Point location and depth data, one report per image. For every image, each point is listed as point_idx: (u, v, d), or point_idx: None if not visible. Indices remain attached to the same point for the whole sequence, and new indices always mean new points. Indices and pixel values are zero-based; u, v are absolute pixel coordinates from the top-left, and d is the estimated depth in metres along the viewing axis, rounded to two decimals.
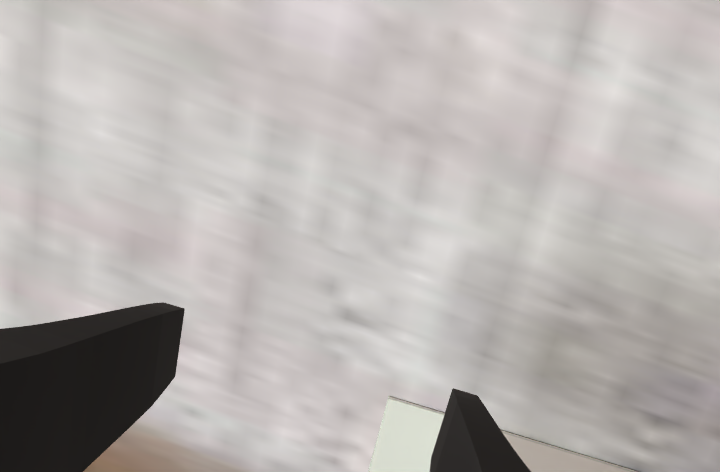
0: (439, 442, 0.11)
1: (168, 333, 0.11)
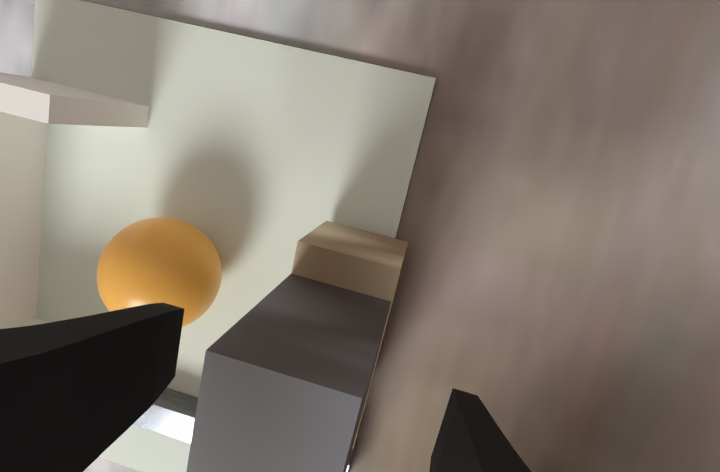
0: (439, 442, 0.11)
1: (168, 333, 0.11)
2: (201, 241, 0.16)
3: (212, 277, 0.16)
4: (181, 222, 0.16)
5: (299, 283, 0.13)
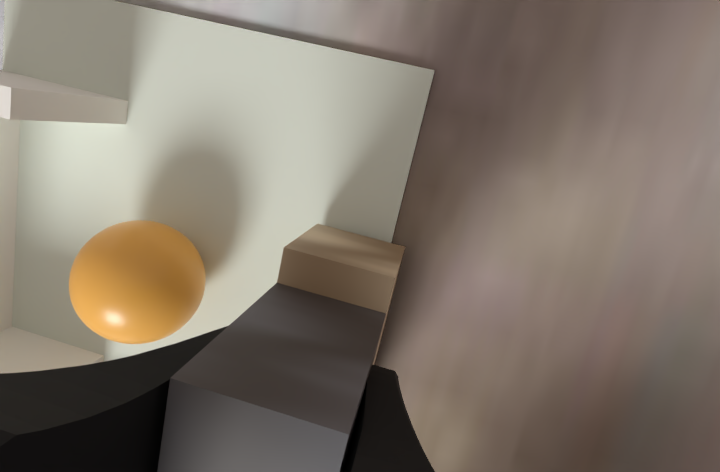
0: None
1: None
2: (182, 246, 0.14)
3: (194, 285, 0.14)
4: (161, 226, 0.15)
5: (285, 294, 0.12)
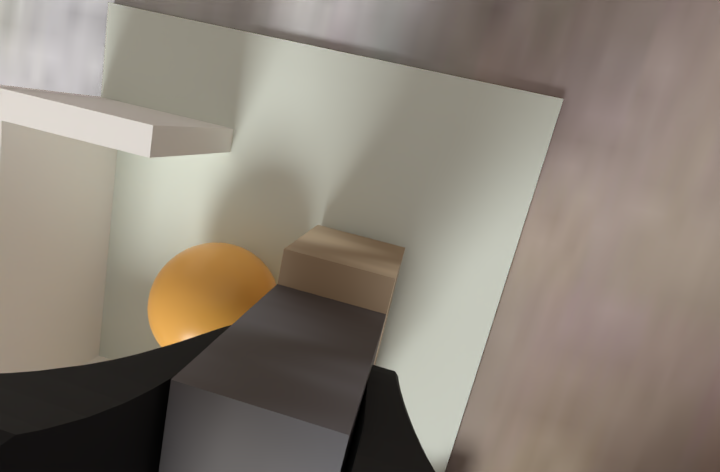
0: None
1: None
2: (245, 274, 0.14)
3: None
4: (236, 250, 0.14)
5: (285, 296, 0.12)
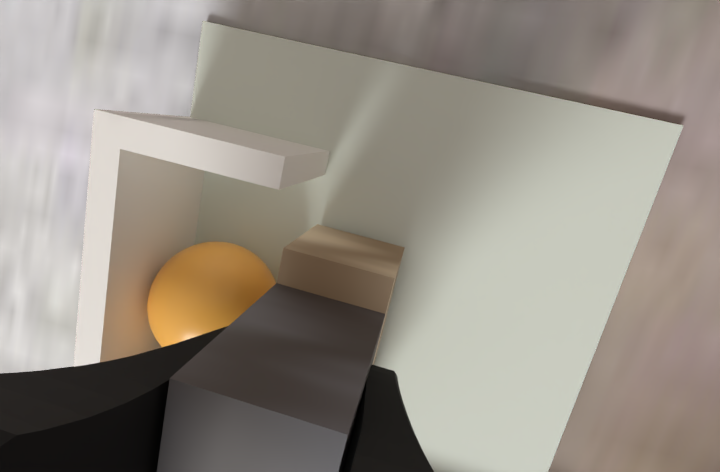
0: None
1: None
2: (182, 259, 0.13)
3: (152, 291, 0.13)
4: (216, 248, 0.14)
5: (285, 294, 0.12)
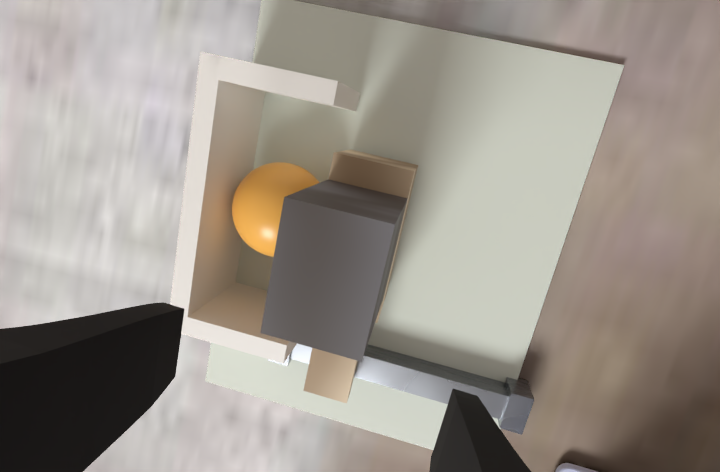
0: (439, 442, 0.11)
1: (168, 333, 0.11)
2: (262, 172, 0.18)
3: (241, 196, 0.18)
4: (285, 164, 0.18)
5: (336, 183, 0.16)
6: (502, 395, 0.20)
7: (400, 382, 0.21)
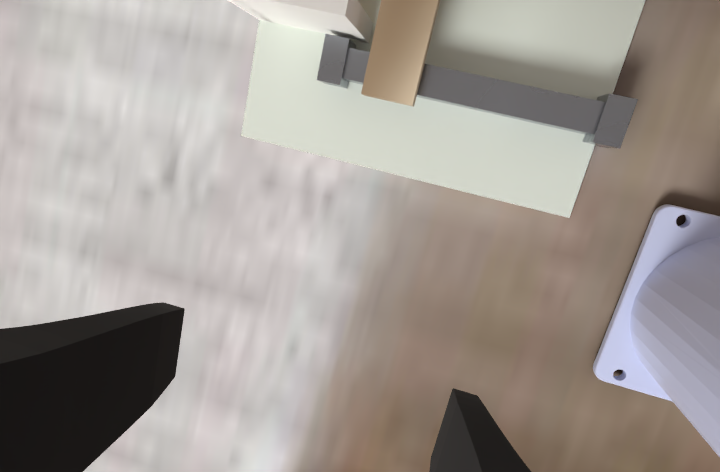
0: (439, 442, 0.11)
1: (168, 333, 0.11)
2: None
3: None
4: None
5: None
6: (597, 101, 0.17)
7: (473, 97, 0.18)
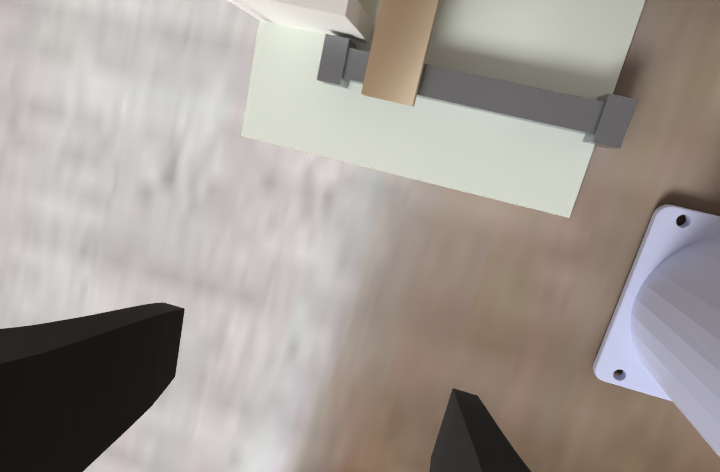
0: (439, 442, 0.11)
1: (168, 333, 0.11)
2: None
3: None
4: None
5: None
6: (597, 101, 0.17)
7: (473, 97, 0.18)
